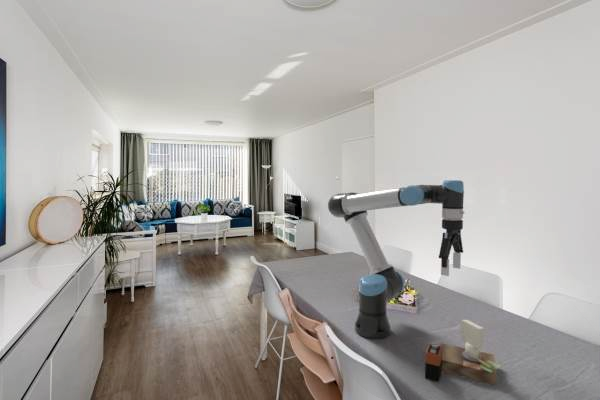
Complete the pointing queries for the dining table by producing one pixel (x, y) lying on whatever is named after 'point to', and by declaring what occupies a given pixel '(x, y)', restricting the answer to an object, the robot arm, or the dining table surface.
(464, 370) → the board
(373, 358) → the dining table surface
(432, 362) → the battery
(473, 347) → the peg knob
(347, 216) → the robot arm
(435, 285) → the dining table surface
